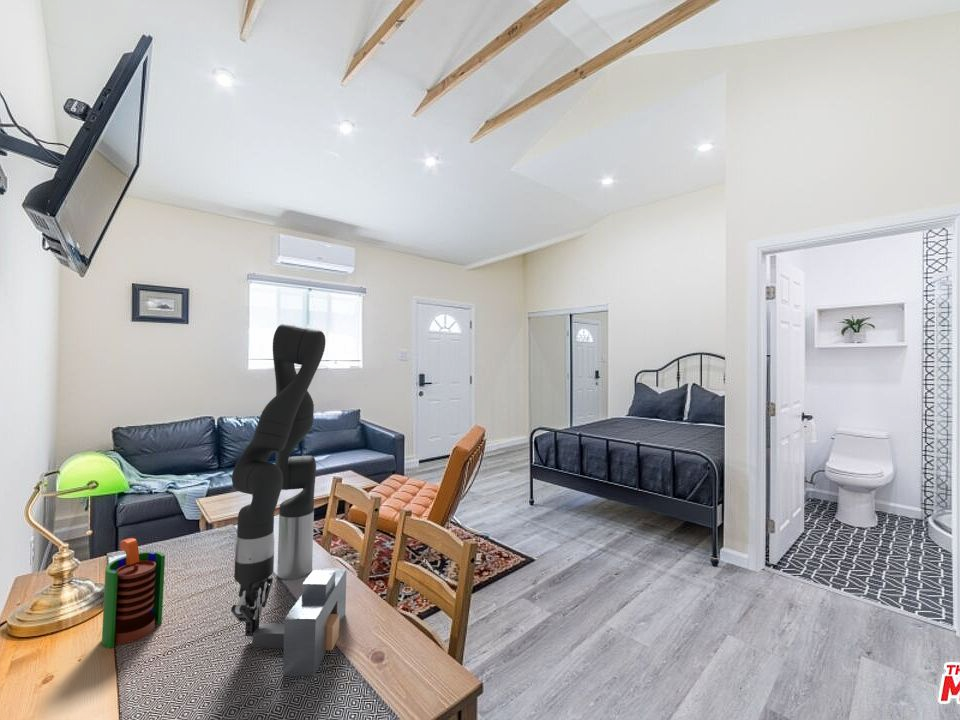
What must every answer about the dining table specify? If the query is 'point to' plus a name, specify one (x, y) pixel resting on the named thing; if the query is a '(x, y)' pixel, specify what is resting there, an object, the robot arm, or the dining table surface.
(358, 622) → the dining table surface
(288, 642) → the housing
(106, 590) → the motor
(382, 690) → the dining table surface
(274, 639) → the plug
